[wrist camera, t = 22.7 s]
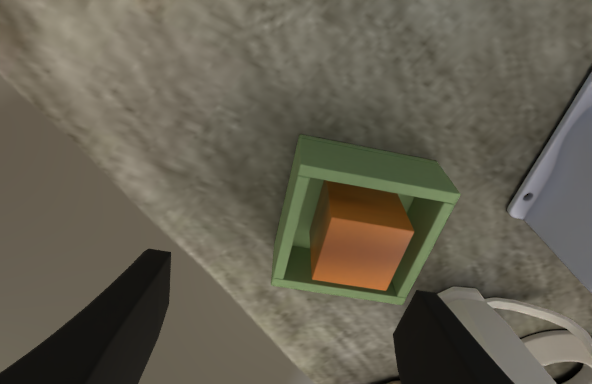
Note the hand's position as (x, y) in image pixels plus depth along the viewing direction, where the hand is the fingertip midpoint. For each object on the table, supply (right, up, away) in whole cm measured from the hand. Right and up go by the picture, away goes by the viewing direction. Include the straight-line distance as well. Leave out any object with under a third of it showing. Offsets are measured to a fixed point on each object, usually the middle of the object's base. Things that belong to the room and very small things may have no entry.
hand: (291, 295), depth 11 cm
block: (+3, +2, +10) cm, 11 cm away
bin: (+3, +2, +11) cm, 12 cm away
